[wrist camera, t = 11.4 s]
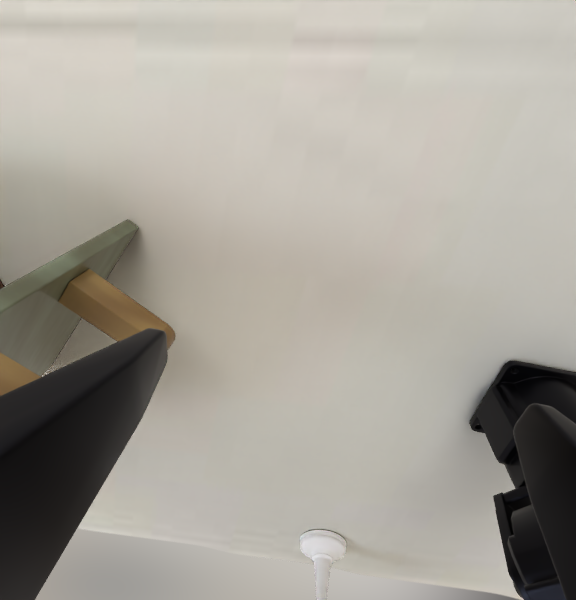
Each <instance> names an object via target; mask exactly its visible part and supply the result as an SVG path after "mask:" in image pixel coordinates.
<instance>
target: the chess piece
mask: <svg viewBox="0 0 576 600" xmlns="http://www.w3.org/2000/svg"><path fill="white" fill-rule="evenodd" d="M346 547H347V544H346V541H345V540H344V538H342V537H341V536H340V535H338V534H336V533H334V532H331V531H327V530H311V531H308V532H306V533H304V534H303V535H302V536H301V537H300V548H301V551H302V552H303V553H304V554H305V555H306V556H307V557H309V558H311V560H312V561H313V562H314V567H315V581H316V582H315V583H316V600H327V590H328V581H329V574H330V567H331V565H332V564H333V563H334V561H337V560H340V559H341V558H343V557H344V556H345V554H346Z"/></svg>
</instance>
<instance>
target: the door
mask: <svg viewBox="0 0 576 600" xmlns="http://www.w3.org/2000/svg"><path fill="white" fill-rule="evenodd" d="M137 229H138V226H136V225H135V224H134V223H133V222H131V221H130V220H128V219H127V220H126V221H124V222H122V223H120V224H118V225H116V226H115V227H113V228H111V229H109V230H107V231H106V232H104V233H102V234H100V235H98V236H96V237H95V238H93V239H91V240H89V241H87V242H85V243H84V244H82V245H80V246H78V247H76V248H75V249H73V250H71V251H69V252H67V253H65V254H64V255H62V256H60V257H58V258H56V259H54V260H53V261H51V262H49V263H47V264H45V265H43V266H42V267H40V268H38V269H36V270H34V271H33V272H31V273H29V274H27V275H25V276H23V277H22V278H20V279H18V280H16V281H14V282H12V283H11V284H9V285H7V286H5V287H3V288H2V289H0V396H1V395H4V394H6V393H8V392H10V391H12V390H15V389H17V388H19V387H21V386H23V385H25V384H28V383H30V382H32V381H34V380H36V379H38V378H41V377H40V376H41V375H42V374H43V373H44V372H46V371H47V370H48V369H49V368H50V367H51V365H52V364H53V362H54V361H55V359H56V357H57V356H58V354H59V353H60V351H61V349H62V348H63V346H64V345H65V343H66V342H67V340H68V338H69V337H70V335H71V334H72V332H73V331H74V329H75V327H76V326H77V324H78V323H79V321H80V319H81V318H83V319H85V320H86V321H88V322H89V323H91V324H92V325H94V326H95V327H97V328H98V329H100V330H101V331H103V332H104V333H106V334H107V335H109V336H110V337H112V338H113V339H115V340H116V341H118V342H119V341H121V340H123V339H125V338H128V337H130V336H132V335H134V334H136V333H138V332H141V331H143V330H145V329H147V328H154V329H159V330H163V331H165V332H166V335H167V351H168V349H169V348H170V346H171V345H172V343H173V342H174V340H175V332H174V330H173V329H172V327H171V326H169V325H168V324H167V323H165V322H164V321H163V320H161V319H160V318H158V317H157V316H155V315H154V314H153V313H151V312H150V311H148V310H147V309H146V308H144V307H143V306H141V305H140V304H139V303H137V302H136V301H134V300H133V299H131V298H130V297H129V296H127V295H126V294H124V293H123V292H122V291H120V290H119V289H117V288H116V287H115V286H113V285H112V284H110V283H109V282H107V281H106V278H107V277H108V275H109V274H110V272H111V271H112V269H113V267H114V266H115V264H116V263H117V261H118V259H119V258H120V256H121V255H122V253H123V252H124V250H125V248H126V247H127V245H128V244H129V242H130V241H131V239H132V237H133V236H134V234H135V233H136V231H137Z"/></svg>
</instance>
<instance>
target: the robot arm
mask: <svg viewBox="0 0 576 600" xmlns="http://www.w3.org/2000/svg"><path fill="white" fill-rule="evenodd" d="M167 356H168V355H167V335H166V332H165V331H163V330H159V329H154V328H147V329H145V330H143V331H141V332H138V333H136V334H134V335H132V336H130V337H128V338H125V339H123V340H121V341H119V342H117V343H115V344H112V345H110V346H108V347H106V348H104V349H101V350H99V351H97V352H95V353H93V354H91V355H88V356H86V357H84V358H82V359H80V360H78V361H75V362H73V363H71V364H69V365H67V366H65V367H62V368H60V369H58V370H56V371H54V372H51V373H49V374H47V375H45V376H43V377H41V378H38V379H36V380H34V381H32V382H30V383H28V384H25V385H23V386H21V387H19V388H17V389H15V390H12V391H10V392H8V393H6V394H4V395H1V396H0V600H35V598H36V597H37V595H38V593H39V591H40V590H41V588H42V587H43V585H44V583H45V582H46V579H47V578H48V576H49V575H50V573H51V571H52V570H53V568H54V566H55V565H56V563H57V561H58V560H59V558H60V556H61V554H62V553H63V551H64V549H65V548H66V546H67V544H68V543H69V541H70V539H71V538H72V536H73V534H74V532H75V531H76V529H77V527H78V526H79V524H80V522H81V521H82V519H83V517H84V516H85V514H86V512H87V511H88V509H89V507H90V505H91V504H92V502H93V500H94V499H95V497H96V495H97V494H98V492H99V490H100V489H101V487H102V485H103V483H104V482H105V480H106V478H107V477H108V475H109V473H110V472H111V470H112V468H113V467H114V465H115V463H116V461H117V460H118V458H119V456H120V455H121V453H122V451H123V450H124V448H125V446H126V445H127V443H128V441H129V440H130V438H131V436H132V434H133V433H134V431H135V429H136V428H137V426H138V424H139V422H140V420H141V419H142V417H143V414H144V412H145V410H146V408H147V406H148V404H149V401H150V399H151V397H152V395H153V392H154V390H155V388H156V386H157V384H158V381H159V379H160V377H161V375H162V372H163V370H164V368H165V366H166V363H167ZM512 368H515V369H512ZM478 424H479V425H478ZM470 426H471V428H472V430H473V431H476V432H481V433H485V434H486V437H487V439H488V441H489V443H490V445H491V448H492V450H493V452H494V454H495V456H496V459H497V460H498V462H499V463H502V464H504V465H505V467H506V469H507V471H508V473H509V475H510V478H511V480H512V482H513V484H514V486H515V488H516V489H514V490H512V491H509V492H507V493H504V494H503V493H499V494H497V495H495V496H493V498H494V502H495V507H496V515H497V520H498V524H499V529H500V534H501V539H502V543H503V548H504V553H505V558H506V562H507V567H508V572H509V575H510V577H511V578H512V580H513V583H514V587H515V589H516V591H517V593H518V594H519V596H520V597H522V598H523V599H524V600H576V372H571V371H566V370H561V369H555V368H550V367H545V366H540V365H535V364H530V363H525V362H519V361H509V362H507V363H506V364H505V365H504V366H503V368H502V370H501V371H500V373H499V375H498V376H497V378H496V380H495V381H494V383H493V384H492V386H491V387H490V388H489V390H488V392H487V393H486V395H485V397H484V398H483V400H482V402H481V403H480V405H479V406H478V408H477V410H476V412H475V414H474V415H473V417H472V419H471V420H470Z"/></svg>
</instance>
